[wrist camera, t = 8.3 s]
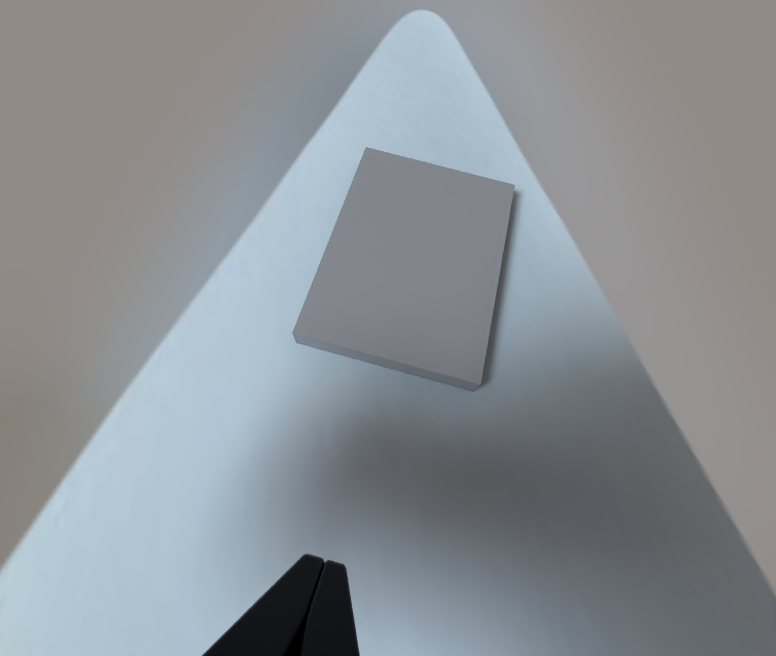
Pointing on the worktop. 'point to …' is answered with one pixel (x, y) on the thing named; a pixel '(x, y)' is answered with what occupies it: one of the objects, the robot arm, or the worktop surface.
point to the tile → (411, 270)
